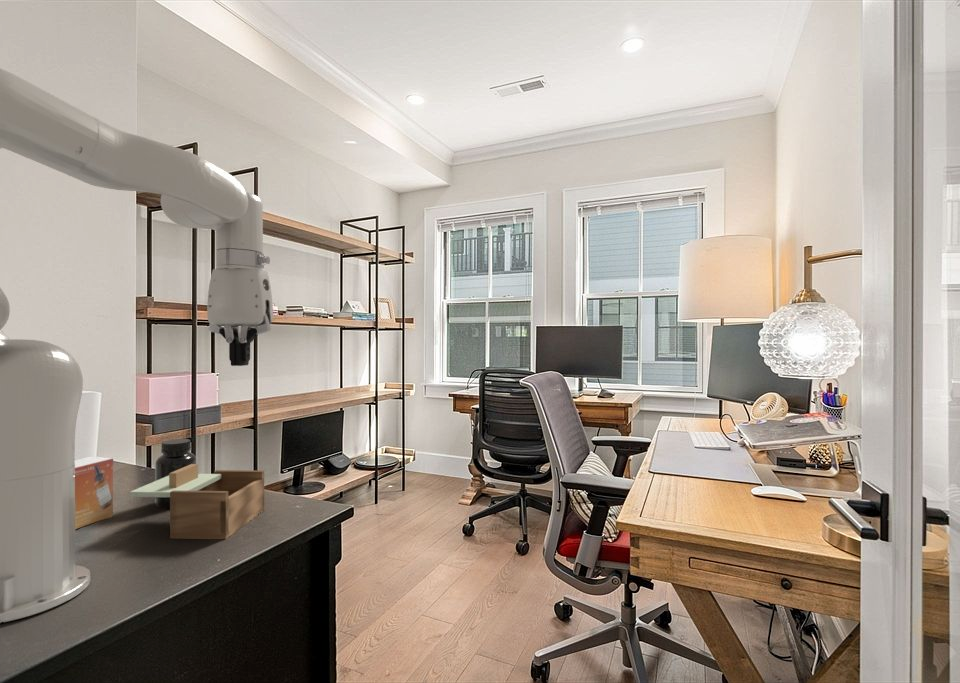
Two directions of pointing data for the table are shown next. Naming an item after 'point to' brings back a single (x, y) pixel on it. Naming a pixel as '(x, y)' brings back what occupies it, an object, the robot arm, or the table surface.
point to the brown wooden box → (217, 506)
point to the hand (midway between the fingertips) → (239, 365)
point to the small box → (93, 490)
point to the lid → (177, 483)
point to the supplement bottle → (172, 463)
